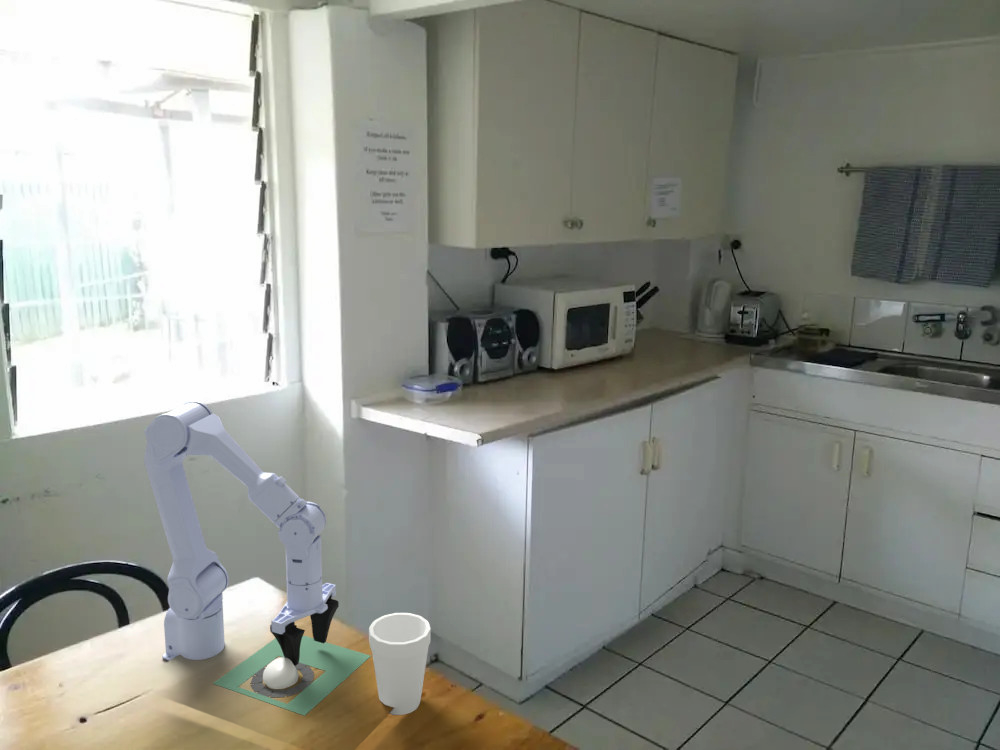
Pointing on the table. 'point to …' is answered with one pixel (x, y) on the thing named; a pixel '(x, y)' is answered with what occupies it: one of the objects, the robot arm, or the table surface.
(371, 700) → the table surface
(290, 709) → the mat
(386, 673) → the foam cup
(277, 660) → the white smooth pebble
